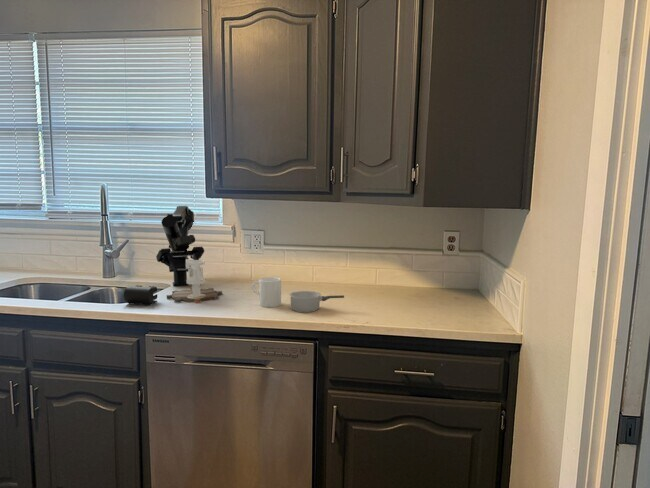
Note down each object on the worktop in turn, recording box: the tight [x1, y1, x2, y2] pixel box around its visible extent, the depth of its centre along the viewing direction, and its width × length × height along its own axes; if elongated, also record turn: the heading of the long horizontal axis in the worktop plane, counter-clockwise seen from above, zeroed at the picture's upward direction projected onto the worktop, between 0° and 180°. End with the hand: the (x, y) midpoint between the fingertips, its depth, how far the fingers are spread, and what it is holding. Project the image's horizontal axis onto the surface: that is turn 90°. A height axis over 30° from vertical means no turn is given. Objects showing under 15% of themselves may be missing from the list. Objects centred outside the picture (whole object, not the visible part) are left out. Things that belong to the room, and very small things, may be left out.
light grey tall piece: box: [186, 258, 206, 297], centre depth 171 cm, size 7×7×15 cm
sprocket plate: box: [166, 287, 223, 304], centre depth 178 cm, size 22×22×2 cm
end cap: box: [123, 285, 158, 306], centre depth 165 cm, size 10×7×7 cm
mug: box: [250, 276, 282, 308], centre depth 167 cm, size 8×12×10 cm
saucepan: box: [289, 290, 345, 313], centre depth 160 cm, size 12×20×6 cm, turn 85°
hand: (187, 270), depth 177 cm, fingers open, 9 cm apart
